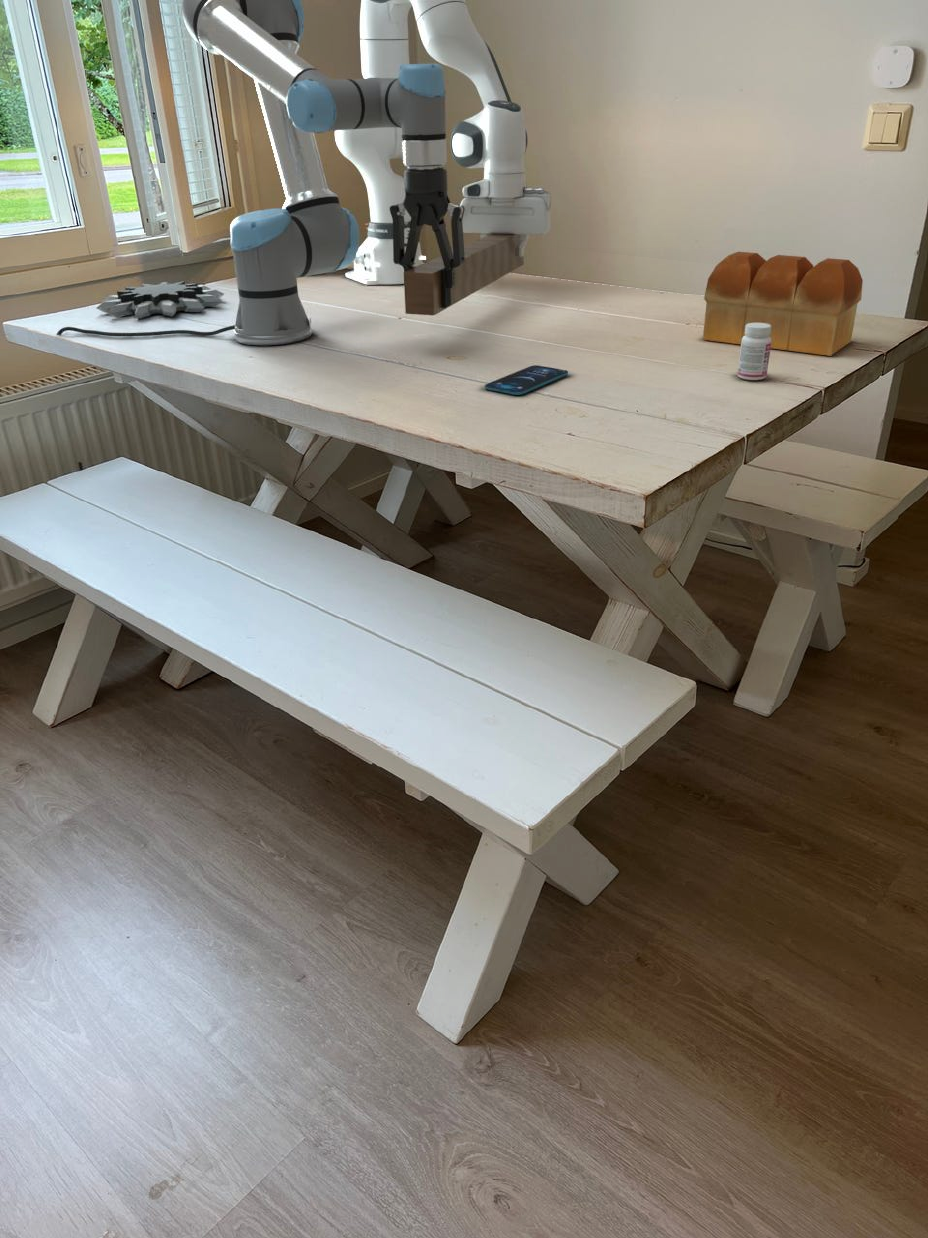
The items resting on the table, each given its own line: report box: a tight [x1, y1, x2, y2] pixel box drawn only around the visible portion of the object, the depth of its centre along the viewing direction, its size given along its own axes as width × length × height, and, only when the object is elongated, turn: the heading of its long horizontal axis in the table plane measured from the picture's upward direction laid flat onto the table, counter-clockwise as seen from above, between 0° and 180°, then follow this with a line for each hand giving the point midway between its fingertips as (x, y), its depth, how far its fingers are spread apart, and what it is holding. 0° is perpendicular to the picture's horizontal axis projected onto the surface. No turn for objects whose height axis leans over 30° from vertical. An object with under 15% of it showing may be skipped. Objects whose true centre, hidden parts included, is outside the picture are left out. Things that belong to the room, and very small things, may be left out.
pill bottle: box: [737, 323, 772, 381], centre depth 155 cm, size 5×5×8 cm
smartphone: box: [484, 364, 569, 396], centre depth 158 cm, size 8×1×15 cm
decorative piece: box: [95, 280, 225, 319], centre depth 219 cm, size 30×4×30 cm
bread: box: [702, 251, 864, 357], centre depth 174 cm, size 25×12×15 cm, turn 54°
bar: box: [403, 233, 525, 316], centre depth 191 cm, size 55×6×7 cm, turn 160°
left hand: (430, 304), depth 174 cm, fingers closed on bar, 6 cm apart
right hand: (504, 255), depth 209 cm, fingers closed on bar, 5 cm apart
